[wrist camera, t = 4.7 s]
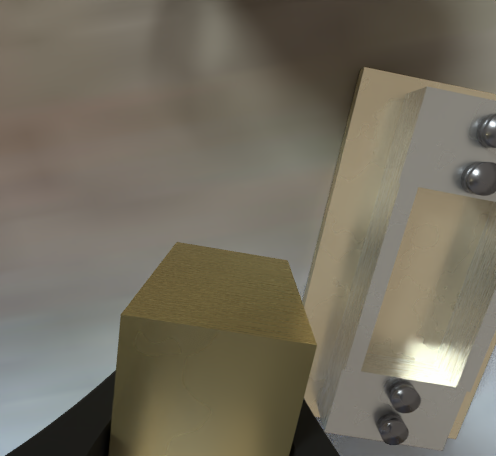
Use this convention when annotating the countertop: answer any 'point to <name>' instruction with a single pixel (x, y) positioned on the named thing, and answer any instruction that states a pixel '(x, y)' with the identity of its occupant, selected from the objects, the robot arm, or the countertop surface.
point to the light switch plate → (406, 263)
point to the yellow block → (212, 358)
